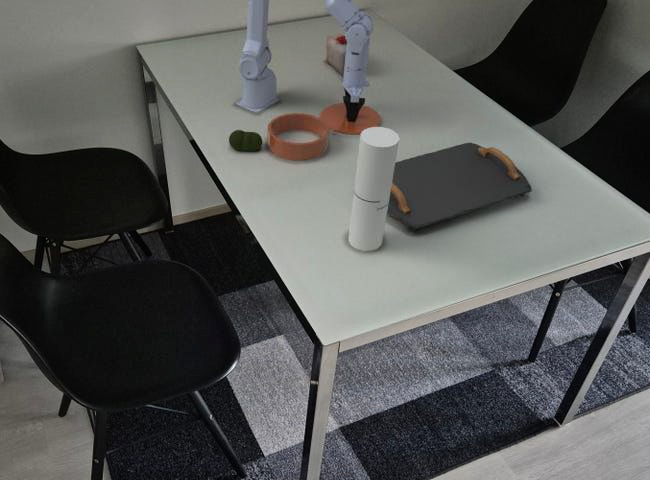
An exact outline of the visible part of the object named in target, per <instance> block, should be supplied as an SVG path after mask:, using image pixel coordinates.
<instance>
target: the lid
mask: <svg viewBox="0 0 650 480" xmlns="http://www.w3.org/2000/svg"><path fill="white" fill-rule="evenodd" d="M319 115H320V116H319V118H320V119H322V120H323V121H324V122H326V124H327V125H328V127H329V131H330V130H331V131H333V132H336V133H338V134H343V135H350V136H351V135H352V136H354V135H355V136H356V135H361V133H362V131H364V130H365V129H367V128H371V127H380V125H381V116H380V114H379V112H377V111H376V110H375V109H374V108H372V107H370V106H367V105H365V104H364V105H363V106H362V107H361V109H360V111H359V114H358V117H357V120H356V122H348V121H347V111H346V106H345V104H344V102H338V103H333V104H330V105H328V106H326V107H325V108H323V109H322V110H321V112H320V114H319Z"/></svg>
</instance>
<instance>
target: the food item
mask: <svg viewBox="0 0 650 480" xmlns="http://www.w3.org/2000/svg"><path fill="white" fill-rule="evenodd" d="M346 47H347V40H346V38H345V34H340V33H334V34H331V35H328V36H327V37H326V46H325V48H326V49H325V51H326V55H325V56H326V57H325V58H326V60H325V61H326V62H327V63H328V64H329V65H330V66H332V67H333V68H334V69H335V70H336V71H337V72H338V73H339V74H340V75H341V76H342V77H344V66H345V55H346Z"/></svg>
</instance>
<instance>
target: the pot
mask: <svg viewBox="0 0 650 480" xmlns="http://www.w3.org/2000/svg"><path fill="white" fill-rule="evenodd" d="M293 130H297V131H306V132H311V133H313V134H316V135H317V136H319V138H318V139H316V140H313V141H308V142H293V141H287V140H284V139H281V138H279V137H277V135H278V134H280V133H283V132H286V131H293ZM329 136H330V129H329V127H328V125H327V124H326V122H324V121H323V120H322V119H320V117H318V116H315V115H313V114H308V113H304V112H291V113H284V114H281V115H278V116H276V117H275V118H273V119H272V120H270V122H269V123H268V125H267V147H268V150H269V151H270V152H272V154H274V155H275V156H277V157H279V158H281V159H284V160H289V161H294V162H303V161H309V160H312V159H315V158H318V157H320V156H322V155H323V154H324V153H326V151H327V150H328V148H329Z"/></svg>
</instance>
